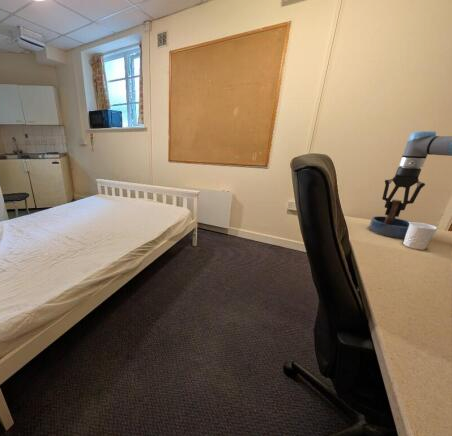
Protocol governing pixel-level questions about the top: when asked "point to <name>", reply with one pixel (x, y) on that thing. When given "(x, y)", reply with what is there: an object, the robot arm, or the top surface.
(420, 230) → the white cup
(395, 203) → the wooden masher
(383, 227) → the bowl
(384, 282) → the top surface
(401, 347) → the top surface
